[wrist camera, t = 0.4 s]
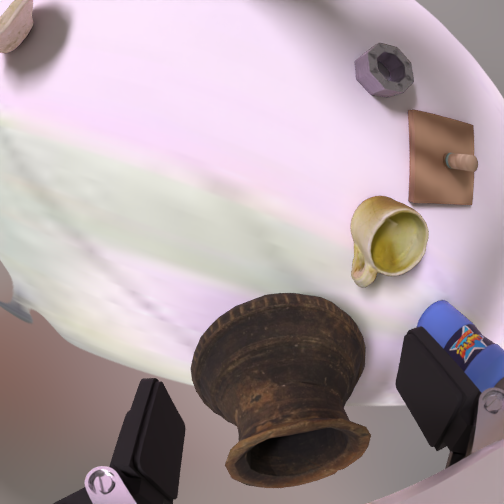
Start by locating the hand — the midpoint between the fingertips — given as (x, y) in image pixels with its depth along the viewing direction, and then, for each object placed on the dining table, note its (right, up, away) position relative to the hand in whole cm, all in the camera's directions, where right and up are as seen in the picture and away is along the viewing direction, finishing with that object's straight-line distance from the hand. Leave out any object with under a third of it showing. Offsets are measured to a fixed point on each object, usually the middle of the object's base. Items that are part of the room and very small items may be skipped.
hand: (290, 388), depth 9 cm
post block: (+29, +20, +26) cm, 44 cm away
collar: (+16, +30, +22) cm, 41 cm away
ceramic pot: (+2, -9, +35) cm, 36 cm away
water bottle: (+34, -8, +36) cm, 50 cm away
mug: (+15, +8, +30) cm, 34 cm away
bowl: (-42, +44, +14) cm, 63 cm away
